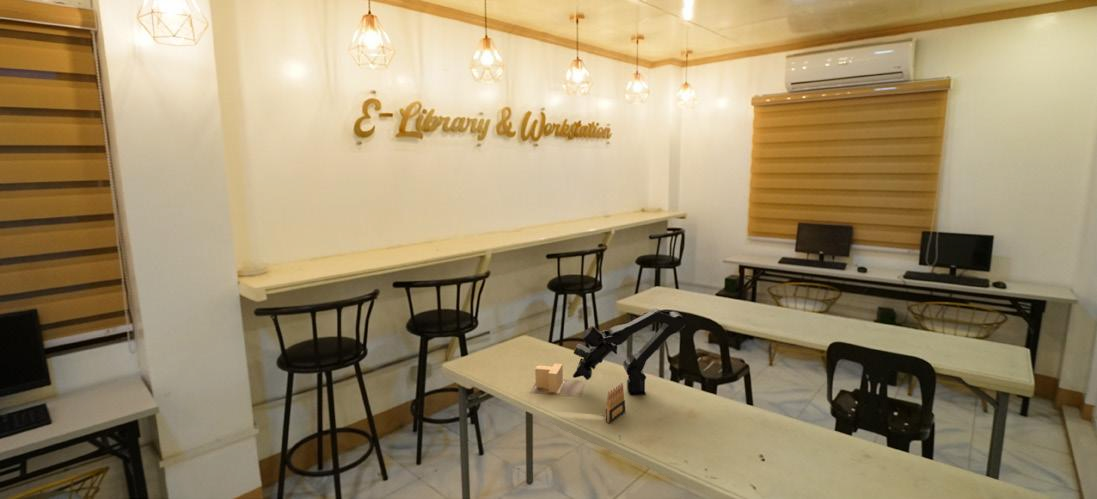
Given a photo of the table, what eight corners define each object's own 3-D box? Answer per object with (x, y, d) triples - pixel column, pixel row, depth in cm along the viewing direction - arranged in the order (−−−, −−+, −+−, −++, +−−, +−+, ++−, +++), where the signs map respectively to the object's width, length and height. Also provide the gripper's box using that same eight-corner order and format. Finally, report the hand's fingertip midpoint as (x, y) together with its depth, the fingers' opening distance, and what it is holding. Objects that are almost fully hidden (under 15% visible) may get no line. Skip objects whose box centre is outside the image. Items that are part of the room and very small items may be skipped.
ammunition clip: (609, 423, 189) (609, 393, 187) (605, 422, 190) (605, 391, 188) (625, 412, 197) (625, 382, 195) (621, 410, 198) (621, 381, 196)
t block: (562, 381, 221) (562, 364, 220) (557, 392, 211) (556, 373, 210) (540, 379, 224) (539, 362, 222) (533, 390, 214) (532, 371, 213)
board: (586, 384, 222) (586, 380, 221) (580, 400, 207) (580, 396, 207) (538, 380, 226) (538, 377, 226) (529, 396, 212) (529, 392, 212)
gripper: (588, 331, 219) (563, 354, 224) (581, 347, 201) (554, 372, 206) (607, 349, 219) (582, 372, 223) (602, 367, 201) (574, 392, 205)
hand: (573, 376), depth 214 cm, fingers closed
